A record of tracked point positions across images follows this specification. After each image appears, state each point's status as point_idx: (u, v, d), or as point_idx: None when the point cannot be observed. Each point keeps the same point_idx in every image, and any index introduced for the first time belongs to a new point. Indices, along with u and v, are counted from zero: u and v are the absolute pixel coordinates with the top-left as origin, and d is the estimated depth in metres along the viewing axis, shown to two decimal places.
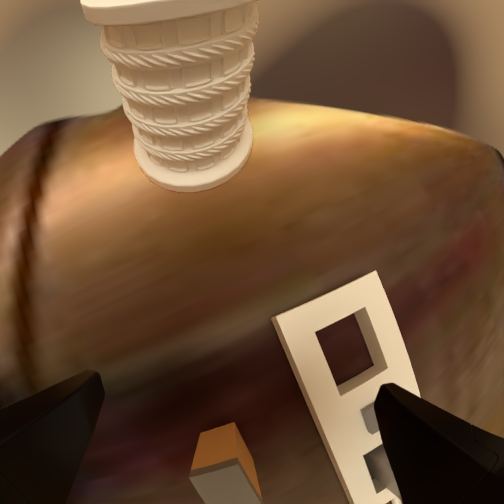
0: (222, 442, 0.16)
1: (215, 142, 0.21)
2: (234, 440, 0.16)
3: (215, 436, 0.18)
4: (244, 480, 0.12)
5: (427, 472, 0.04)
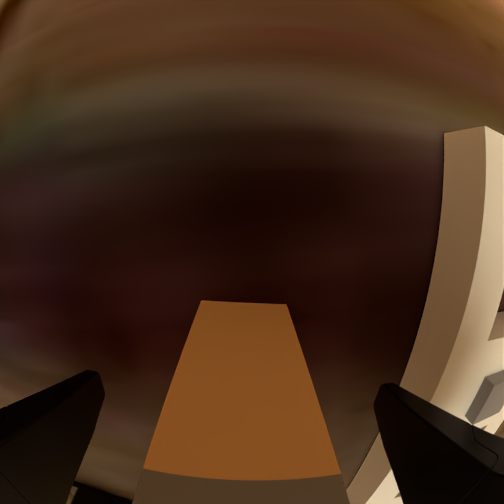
0: (267, 367, 0.06)
1: None
2: (305, 374, 0.06)
3: (241, 329, 0.08)
4: None
5: (427, 472, 0.04)
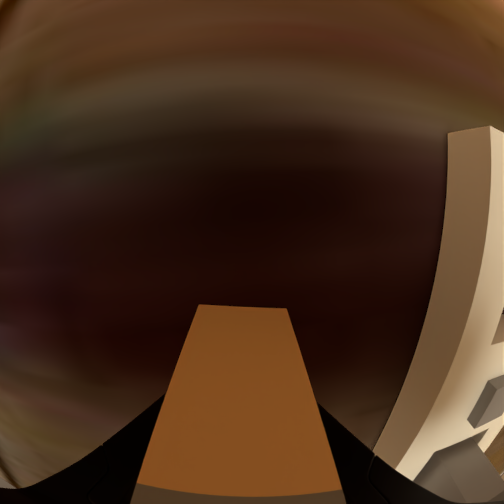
0: (266, 376, 0.06)
1: None
2: (306, 383, 0.06)
3: (239, 335, 0.08)
4: None
5: None
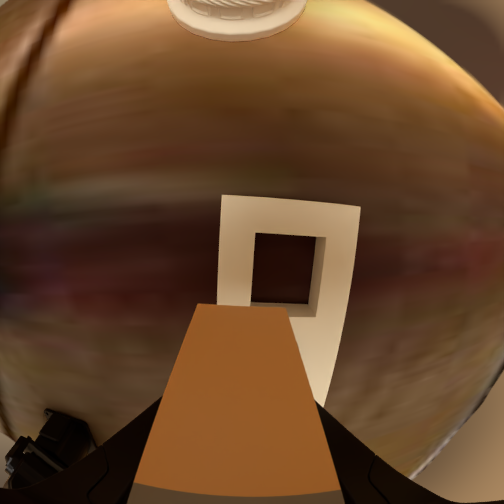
0: (265, 375, 0.06)
1: None
2: (304, 382, 0.06)
3: (238, 335, 0.08)
4: None
5: None
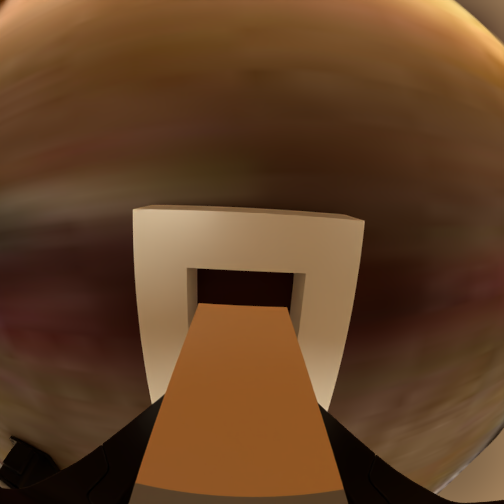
0: (267, 374, 0.06)
1: None
2: (306, 382, 0.06)
3: (239, 334, 0.08)
4: None
5: None
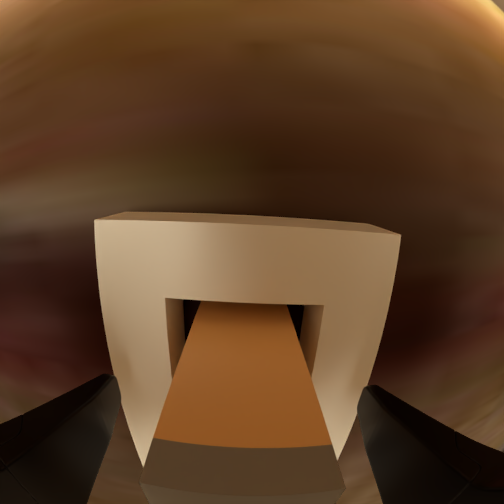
0: (266, 351, 0.07)
1: None
2: (300, 358, 0.07)
3: (241, 319, 0.09)
4: None
5: (407, 479, 0.04)
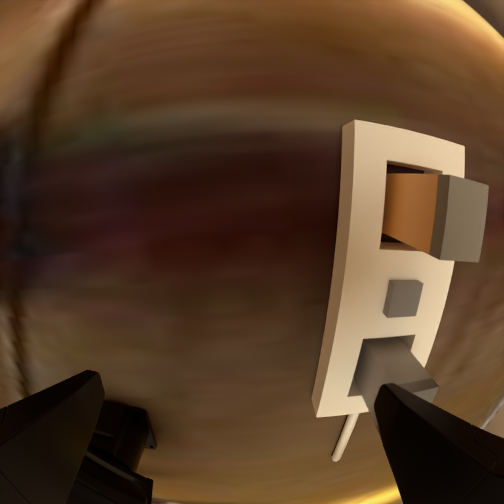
0: None
1: None
2: None
3: None
4: (484, 209, 0.11)
5: (427, 472, 0.04)
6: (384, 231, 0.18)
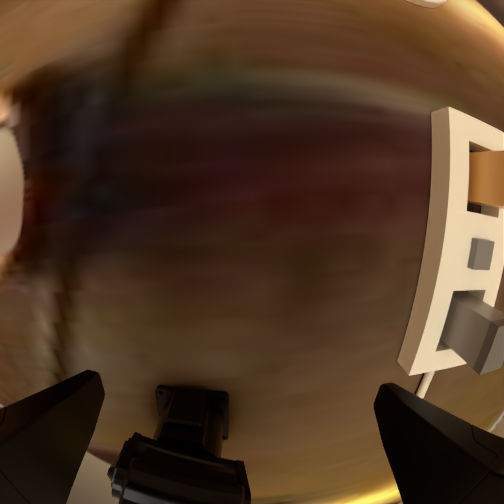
0: None
1: None
2: None
3: None
4: None
5: (427, 472, 0.04)
6: None
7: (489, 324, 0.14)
